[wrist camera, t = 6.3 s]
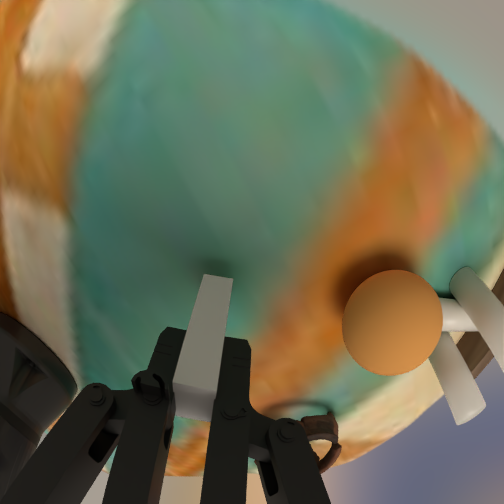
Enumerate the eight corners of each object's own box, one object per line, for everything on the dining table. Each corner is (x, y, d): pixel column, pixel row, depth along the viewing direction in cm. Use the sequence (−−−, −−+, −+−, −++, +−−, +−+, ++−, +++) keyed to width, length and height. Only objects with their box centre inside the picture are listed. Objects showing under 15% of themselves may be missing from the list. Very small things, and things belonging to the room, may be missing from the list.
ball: (421, 353, 16) (350, 320, 19) (459, 278, 13) (376, 244, 16) (401, 412, 11) (311, 365, 14) (461, 324, 9) (343, 272, 12)
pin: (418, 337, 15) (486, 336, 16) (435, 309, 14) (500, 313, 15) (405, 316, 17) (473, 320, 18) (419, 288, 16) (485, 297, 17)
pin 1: (444, 292, 16) (500, 380, 9) (458, 264, 15) (525, 349, 8) (463, 295, 17) (516, 375, 9) (477, 269, 15) (539, 346, 8)
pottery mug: (223, 415, 26) (240, 466, 18) (298, 369, 28) (336, 408, 20) (273, 465, 28) (296, 507, 20) (334, 427, 30) (368, 462, 22)
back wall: (442, 362, 21) (455, 389, 18) (513, 248, 14) (538, 271, 11) (454, 362, 21) (467, 387, 18) (522, 252, 14) (546, 274, 11)
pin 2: (413, 341, 19) (449, 427, 11) (428, 319, 18) (473, 407, 10) (433, 341, 19) (470, 421, 12) (447, 320, 18) (491, 401, 10)
